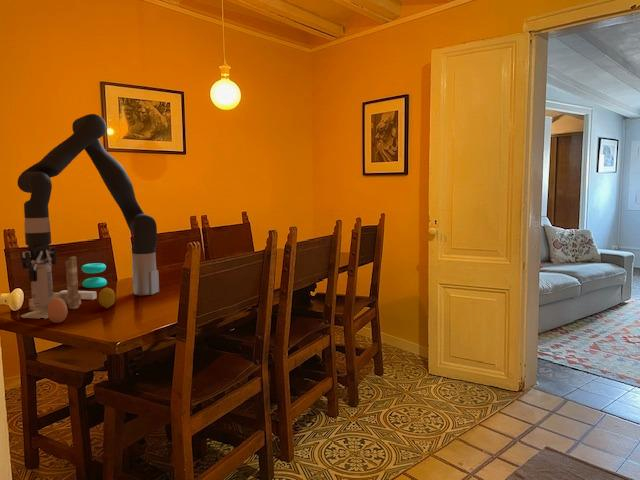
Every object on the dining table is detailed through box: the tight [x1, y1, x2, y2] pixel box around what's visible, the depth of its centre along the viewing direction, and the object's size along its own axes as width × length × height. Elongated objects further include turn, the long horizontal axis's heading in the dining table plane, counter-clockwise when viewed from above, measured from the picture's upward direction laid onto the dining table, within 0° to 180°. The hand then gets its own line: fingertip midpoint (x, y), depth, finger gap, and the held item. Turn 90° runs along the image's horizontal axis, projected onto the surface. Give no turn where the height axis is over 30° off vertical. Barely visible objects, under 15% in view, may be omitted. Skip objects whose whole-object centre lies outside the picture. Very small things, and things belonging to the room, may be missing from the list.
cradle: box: [28, 255, 82, 312], centre depth 166 cm, size 17×12×19 cm
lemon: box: [98, 286, 116, 309], centre depth 165 cm, size 6×6×8 cm
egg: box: [47, 298, 69, 324], centre depth 147 cm, size 6×6×8 cm
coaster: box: [20, 309, 49, 320], centre depth 157 cm, size 9×9×1 cm
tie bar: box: [59, 289, 98, 300], centre depth 181 cm, size 14×2×3 cm, turn 81°
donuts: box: [81, 262, 108, 289], centre depth 203 cm, size 10×10×10 cm
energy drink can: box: [31, 262, 54, 308], centre depth 156 cm, size 6×6×15 cm
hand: (40, 279), depth 155 cm, fingers closed on energy drink can, 6 cm apart
